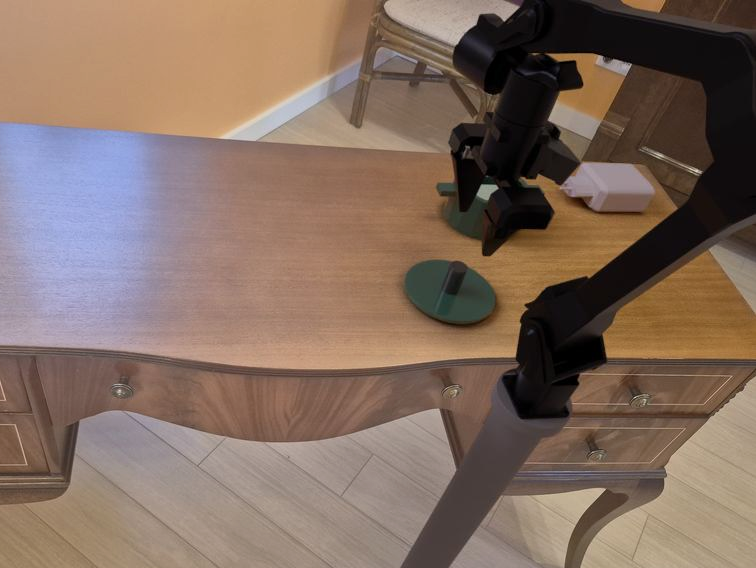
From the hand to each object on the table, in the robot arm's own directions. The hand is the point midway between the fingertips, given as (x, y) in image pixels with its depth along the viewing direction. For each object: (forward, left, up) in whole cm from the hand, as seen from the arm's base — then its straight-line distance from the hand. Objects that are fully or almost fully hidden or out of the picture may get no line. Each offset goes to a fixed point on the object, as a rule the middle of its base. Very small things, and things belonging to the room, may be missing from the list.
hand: (474, 232), depth 78 cm
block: (+18, -11, -10) cm, 23 cm away
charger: (+24, -34, -11) cm, 43 cm away
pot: (+18, -11, -10) cm, 23 cm away
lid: (0, 0, -10) cm, 10 cm away
